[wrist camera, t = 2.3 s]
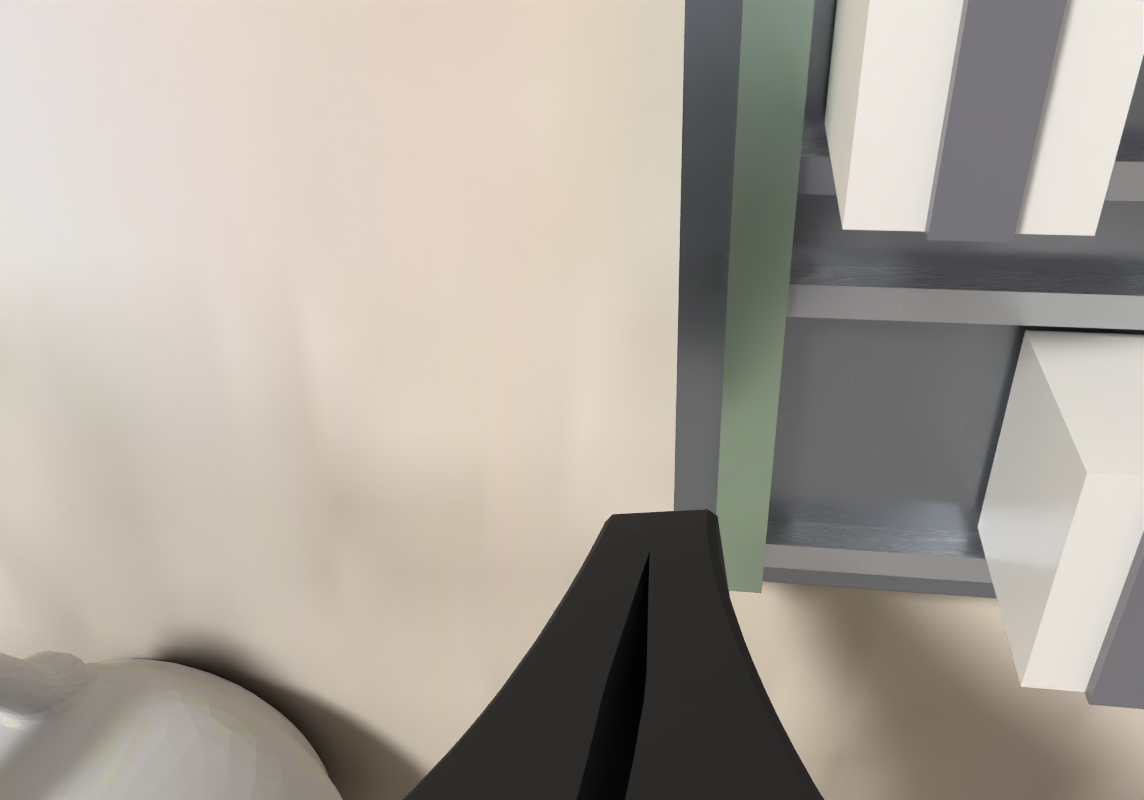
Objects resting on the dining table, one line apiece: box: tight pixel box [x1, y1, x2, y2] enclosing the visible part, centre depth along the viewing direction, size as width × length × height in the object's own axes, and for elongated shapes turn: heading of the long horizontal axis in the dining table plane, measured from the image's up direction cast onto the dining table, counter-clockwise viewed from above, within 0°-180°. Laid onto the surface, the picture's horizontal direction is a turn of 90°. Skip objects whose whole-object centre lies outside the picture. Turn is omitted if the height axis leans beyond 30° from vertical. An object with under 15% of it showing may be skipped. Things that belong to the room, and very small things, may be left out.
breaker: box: [824, 0, 1144, 242], centre depth 10 cm, size 2×4×3 cm, turn 2°
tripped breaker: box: [978, 330, 1144, 709], centre depth 14 cm, size 2×4×3 cm, turn 2°
